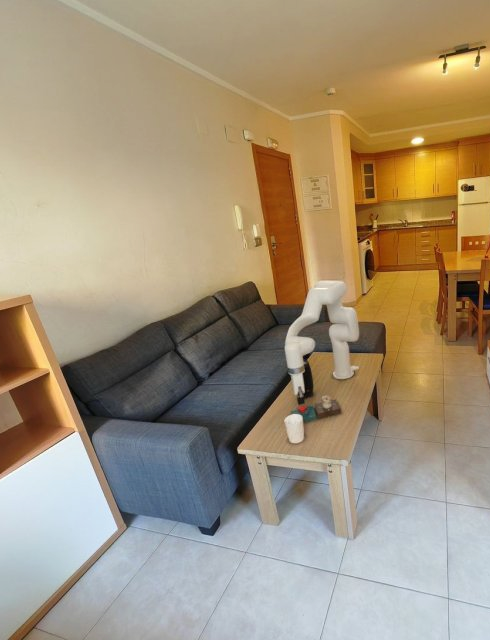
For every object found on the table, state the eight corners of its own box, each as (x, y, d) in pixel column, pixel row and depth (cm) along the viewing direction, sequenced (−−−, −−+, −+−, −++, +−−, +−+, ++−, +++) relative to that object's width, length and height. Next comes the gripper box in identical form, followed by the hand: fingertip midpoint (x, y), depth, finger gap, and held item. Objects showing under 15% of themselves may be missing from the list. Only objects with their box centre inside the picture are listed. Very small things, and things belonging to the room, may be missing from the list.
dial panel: (336, 404, 173) (335, 398, 172) (340, 413, 164) (340, 407, 163) (315, 409, 170) (314, 403, 169) (318, 418, 162) (317, 413, 161)
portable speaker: (314, 398, 180) (309, 364, 174) (297, 400, 180) (291, 367, 174) (314, 389, 188) (310, 357, 182) (297, 392, 188) (292, 360, 182)
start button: (305, 407, 165) (305, 404, 165) (307, 411, 162) (306, 408, 162) (298, 409, 165) (298, 406, 164) (299, 413, 161) (299, 410, 161)
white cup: (290, 446, 145) (286, 426, 141) (285, 436, 152) (282, 417, 148) (308, 440, 147) (304, 421, 144) (302, 430, 154) (299, 411, 151)
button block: (313, 409, 170) (312, 402, 169) (316, 419, 162) (315, 412, 160) (291, 414, 167) (290, 407, 166) (293, 425, 159) (292, 417, 158)
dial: (321, 404, 168) (320, 396, 166) (330, 402, 169) (329, 394, 167) (323, 409, 164) (322, 400, 162) (332, 407, 165) (331, 398, 163)
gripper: (286, 363, 162) (291, 397, 168) (289, 377, 149) (295, 413, 154) (301, 360, 164) (306, 394, 170) (306, 373, 150) (311, 409, 156)
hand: (301, 403), depth 162 cm, fingers closed
